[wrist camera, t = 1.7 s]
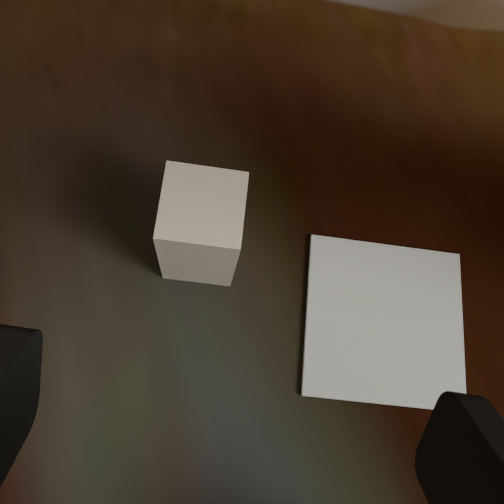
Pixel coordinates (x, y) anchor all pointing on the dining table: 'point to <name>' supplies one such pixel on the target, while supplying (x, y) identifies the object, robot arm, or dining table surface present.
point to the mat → (382, 324)
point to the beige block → (200, 222)
